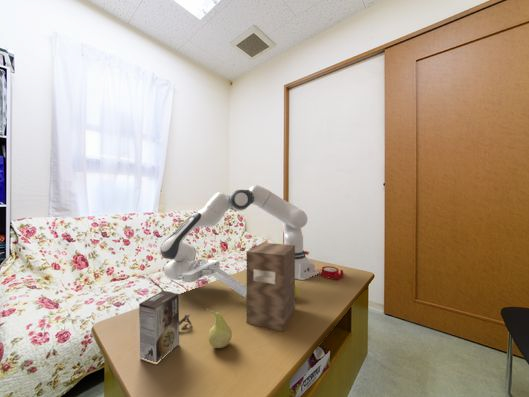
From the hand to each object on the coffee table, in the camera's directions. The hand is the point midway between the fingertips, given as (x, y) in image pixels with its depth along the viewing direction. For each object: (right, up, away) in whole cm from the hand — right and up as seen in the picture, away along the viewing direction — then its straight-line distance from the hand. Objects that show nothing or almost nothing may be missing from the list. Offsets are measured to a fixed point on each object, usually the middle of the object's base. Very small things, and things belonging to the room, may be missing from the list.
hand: (215, 270), depth 100 cm
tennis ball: (+34, -12, -2) cm, 36 cm away
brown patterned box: (+25, -12, -15) cm, 32 cm away
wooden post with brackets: (-7, -13, -24) cm, 28 cm away
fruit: (+8, -13, -33) cm, 36 cm away
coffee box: (-8, -13, -35) cm, 38 cm away
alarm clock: (+61, -12, +25) cm, 68 cm away
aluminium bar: (+6, -5, -2) cm, 8 cm away
